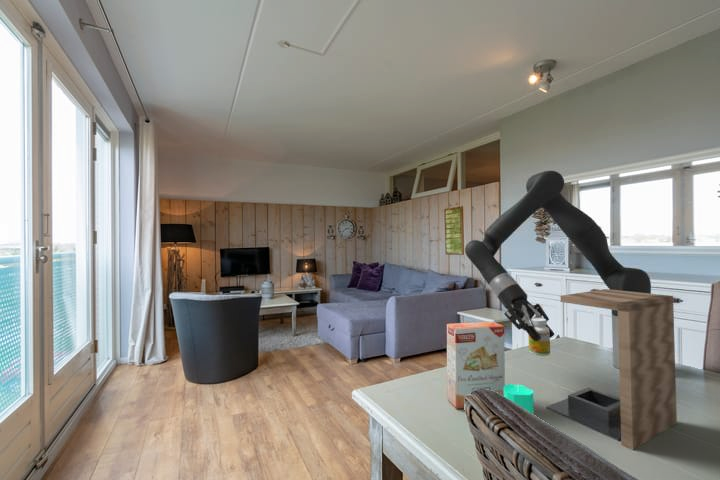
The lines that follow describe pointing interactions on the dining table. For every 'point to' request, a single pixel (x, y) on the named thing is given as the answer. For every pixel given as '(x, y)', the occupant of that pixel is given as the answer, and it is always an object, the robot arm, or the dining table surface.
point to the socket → (592, 411)
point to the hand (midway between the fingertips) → (544, 337)
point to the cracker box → (474, 359)
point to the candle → (520, 396)
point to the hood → (641, 360)
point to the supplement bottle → (543, 343)
